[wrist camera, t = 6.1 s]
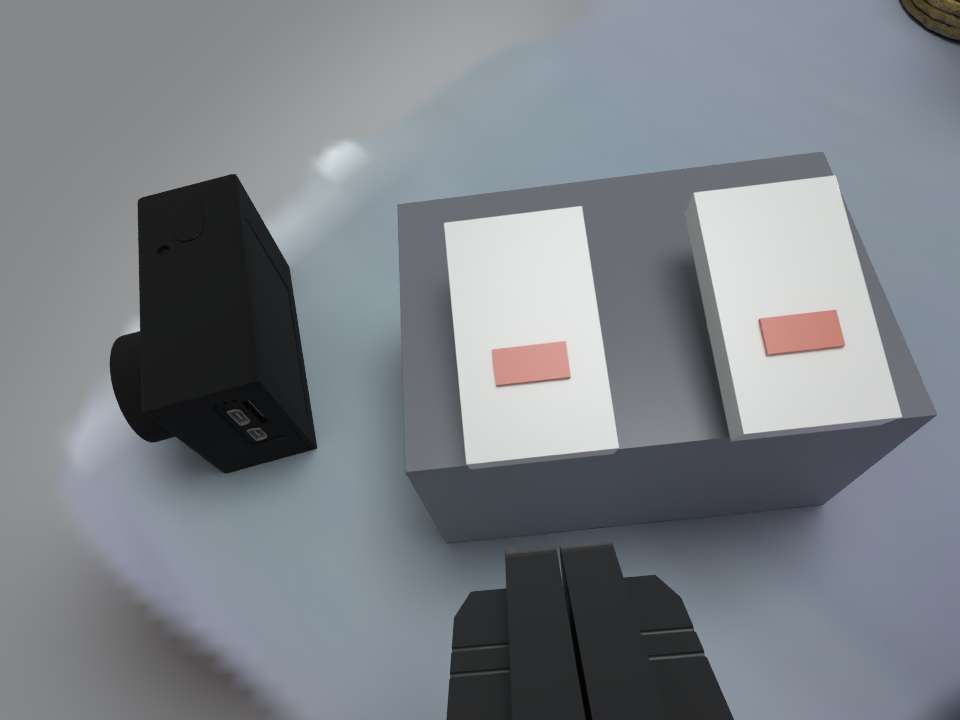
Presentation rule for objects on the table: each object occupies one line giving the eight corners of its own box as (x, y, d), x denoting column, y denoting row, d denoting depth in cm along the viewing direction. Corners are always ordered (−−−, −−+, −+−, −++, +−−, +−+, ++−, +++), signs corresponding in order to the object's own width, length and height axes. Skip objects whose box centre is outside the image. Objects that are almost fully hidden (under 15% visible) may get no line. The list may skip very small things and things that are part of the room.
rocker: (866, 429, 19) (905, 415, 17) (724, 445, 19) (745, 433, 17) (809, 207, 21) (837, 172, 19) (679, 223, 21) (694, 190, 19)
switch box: (823, 504, 27) (936, 414, 19) (447, 543, 28) (405, 471, 20) (754, 294, 32) (823, 151, 24) (434, 331, 32) (397, 204, 24)
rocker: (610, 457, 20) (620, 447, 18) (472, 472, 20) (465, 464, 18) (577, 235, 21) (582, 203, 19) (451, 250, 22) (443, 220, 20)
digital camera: (185, 293, 35) (107, 201, 29) (289, 266, 35) (233, 169, 29) (197, 482, 30) (105, 421, 24) (317, 449, 30) (258, 379, 24)
